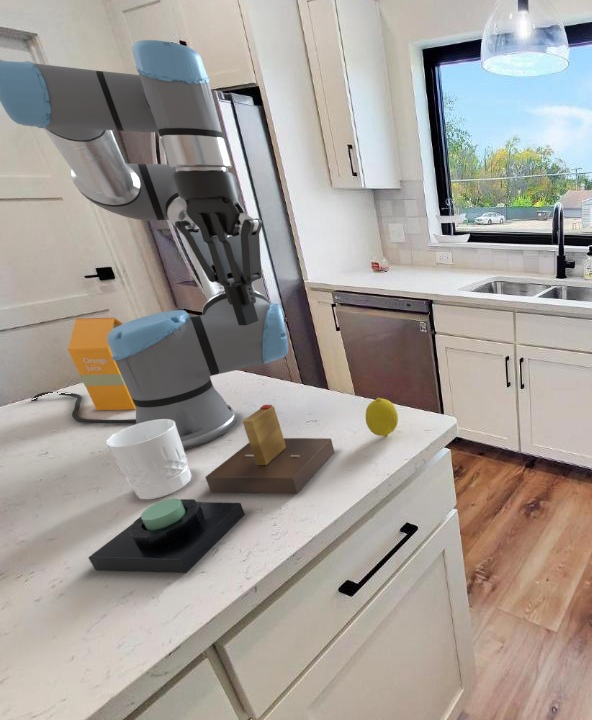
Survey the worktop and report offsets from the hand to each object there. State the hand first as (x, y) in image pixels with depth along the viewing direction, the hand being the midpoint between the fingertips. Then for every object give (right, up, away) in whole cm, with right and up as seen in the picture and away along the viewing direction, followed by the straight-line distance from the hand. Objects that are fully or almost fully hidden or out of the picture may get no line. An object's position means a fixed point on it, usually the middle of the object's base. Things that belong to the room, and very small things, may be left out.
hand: (248, 322), depth 71 cm
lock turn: (+6, -22, -3) cm, 23 cm away
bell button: (+1, -27, -16) cm, 32 cm away
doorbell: (+1, -31, -15) cm, 34 cm away
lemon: (+20, -21, +8) cm, 30 cm away
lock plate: (+6, -25, -1) cm, 26 cm away
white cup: (-10, -27, -4) cm, 29 cm away
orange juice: (-45, -16, +25) cm, 54 cm away
